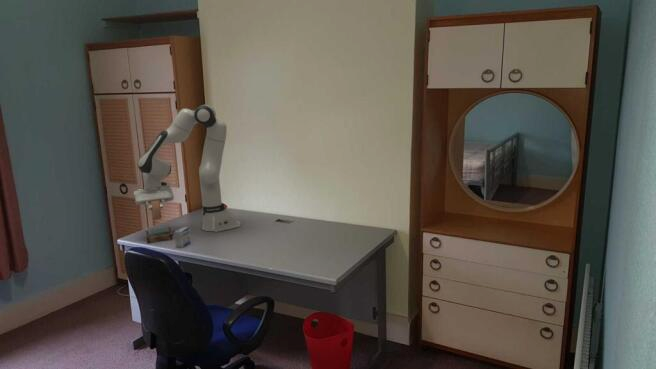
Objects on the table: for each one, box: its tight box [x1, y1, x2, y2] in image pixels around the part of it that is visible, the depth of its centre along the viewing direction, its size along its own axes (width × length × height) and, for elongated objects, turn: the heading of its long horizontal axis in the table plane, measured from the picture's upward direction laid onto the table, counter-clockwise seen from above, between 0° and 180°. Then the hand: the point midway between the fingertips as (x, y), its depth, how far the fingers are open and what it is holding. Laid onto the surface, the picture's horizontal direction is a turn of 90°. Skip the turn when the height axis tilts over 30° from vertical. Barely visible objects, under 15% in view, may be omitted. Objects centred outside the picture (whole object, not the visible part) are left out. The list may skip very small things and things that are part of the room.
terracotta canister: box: [150, 200, 162, 221], centre depth 256 cm, size 4×4×10 cm
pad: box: [153, 226, 168, 236], centre depth 272 cm, size 7×10×1 cm
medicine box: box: [173, 226, 191, 248], centre depth 247 cm, size 8×4×9 cm, turn 168°
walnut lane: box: [145, 227, 173, 244], centre depth 260 cm, size 13×14×3 cm
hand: (156, 208), depth 256 cm, fingers closed on terracotta canister, 4 cm apart
